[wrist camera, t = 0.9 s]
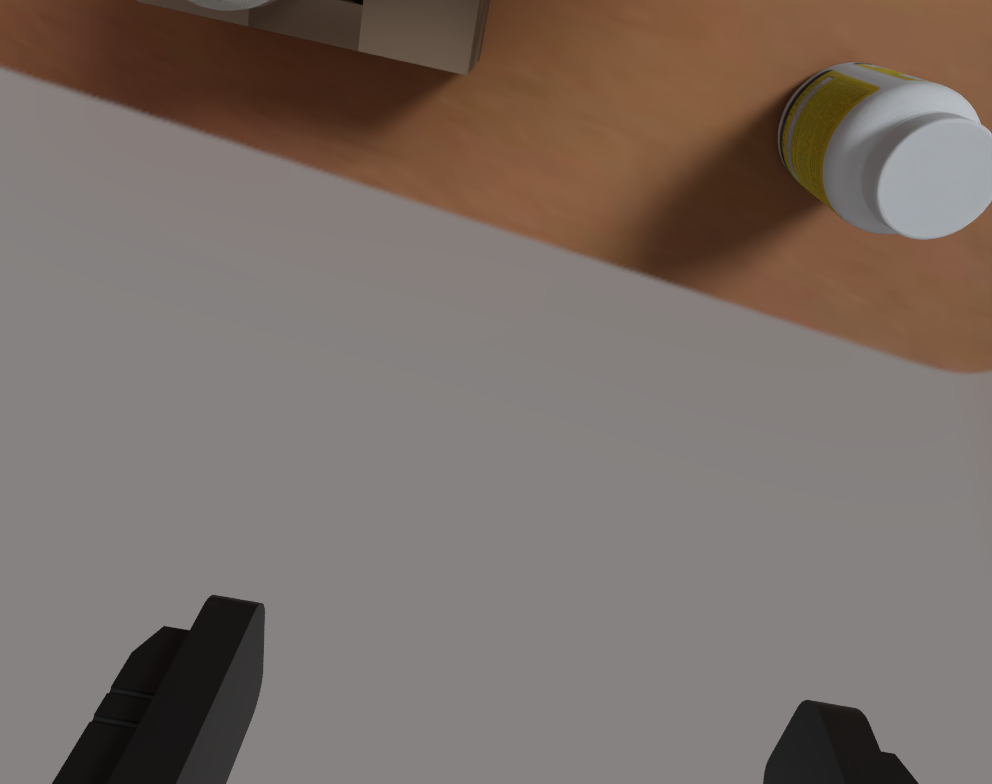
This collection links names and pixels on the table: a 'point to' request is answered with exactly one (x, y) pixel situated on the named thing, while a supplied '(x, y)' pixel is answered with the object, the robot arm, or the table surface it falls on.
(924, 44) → the table surface
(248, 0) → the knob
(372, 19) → the mount
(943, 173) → the supplement bottle
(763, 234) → the table surface
